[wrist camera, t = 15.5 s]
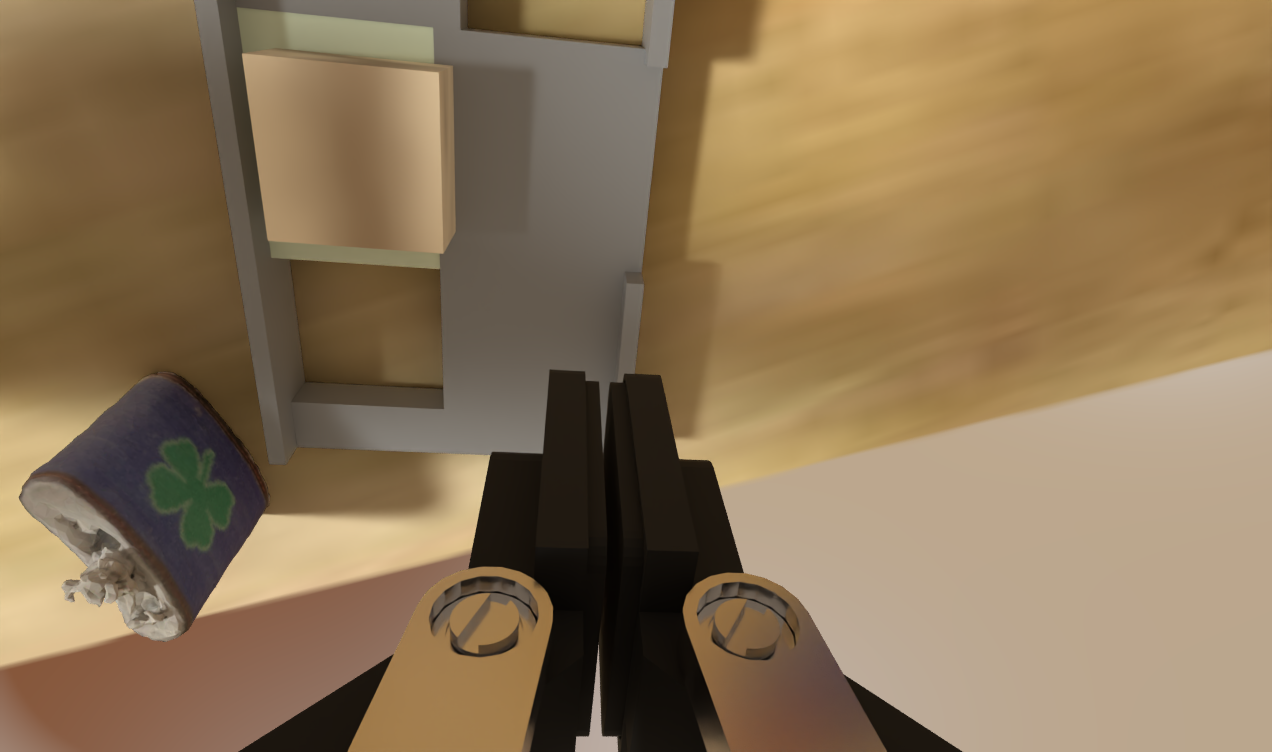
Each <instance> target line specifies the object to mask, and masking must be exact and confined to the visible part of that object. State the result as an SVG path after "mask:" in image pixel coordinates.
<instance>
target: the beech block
mask: <svg viewBox="0 0 1272 752" xmlns="http://www.w3.org/2000/svg"><path fill="white" fill-rule="evenodd" d="M242 59H243V66H244V73H245V80H246V88H247V95H248V102H249V109H250V117H251V124H252V131H253V138H254V145H255V153H256V160H257V167H258V174H259V181H260V189H261V196H262V203H263V210H264V218H265V225H266V232H267V239H268V241H277V242H290V243H304V244H318V245H331V246H345V247H359V248H372V249H386V250H399V251H413V252H427V253H440V254H443V253H444V252H445V250H446V248H447V246H448V245H449V243H450V241H451V239H452V237H453V236H454V234H455V232H456V217H455V157H454V97H453V66H451V65H441V64H431V63H421V62H411V61H401V60H391V59H380V58H370V57H360V56H350V55H340V54H330V53H320V52H310V51H300V50H289V49H279V48H273V49H267V50H260V51H254V52H247V53H242Z"/></svg>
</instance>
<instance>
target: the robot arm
mask: <svg viewBox="0 0 1272 752" xmlns="http://www.w3.org/2000/svg"><path fill="white" fill-rule="evenodd" d="M598 645H599V662H600V692H601V693H600V695H601V725H602V736H617V738H618V752H962V751H960V750H959V749H958V748H956V747H954V746H953V745H951V744H950V743H948V742H947V741H945V740H944V739H942V738H941V737H939V736H938V735H936V734H934V733H933V732H931V731H930V730H928V729H927V728H925V727H924V726H922V725H921V724H919V723H918V722H916V721H914V720H913V719H911V718H910V717H908V716H907V715H905V714H904V713H902V712H900V711H899V710H898V709H896V708H894V707H893V706H891V705H890V704H888V703H887V702H885V701H884V700H882V699H881V698H879V697H877V696H876V695H875V694H873V693H871V692H870V691H868V690H866V689H865V688H864V687H862V686H861V685H859V684H858V683H856V682H854V681H853V680H851V679H850V678H848V677H847V676H845V675H844V674H843V673H842V671H841V670H840V668H839V666H838V664H837V662H836V661H835V659H834V657H833V655H832V654H831V652H830V650H829V648H828V646H827V645H826V643H825V641H824V639H823V638H822V636H821V634H820V632H819V630H818V629H817V627H816V625H815V623H814V622H813V620H812V618H811V616H810V615H809V613H808V611H807V610H806V609H805V608H804V606H803V605H802V604H801V603H800V601H799V600H798V599H797V598H796V597H795V596H794V595H792V594H791V593H790V592H789V591H787V590H786V589H785V588H783V587H782V586H780V585H778V584H776V583H774V582H772V581H770V580H768V579H765V578H762V577H758V576H754V575H750V574H746V573H744V572H743V569H742V565H741V562H740V558H739V555H738V551H737V548H736V544H735V541H734V537H733V534H732V530H731V527H730V523H729V520H728V516H727V513H726V509H725V506H724V503H723V499H722V495H721V492H720V488H719V485H718V481H717V478H716V474H715V471H714V468H713V465H712V463H711V462H710V461H708V460H684V459H679V457H678V453H677V448H676V444H675V439H674V434H673V430H672V425H671V421H670V416H669V411H668V407H667V402H666V397H665V393H664V388H663V384H662V379H661V376H660V375H644V374H625V373H624V377H623V383H620V382H610V385H609V393H608V404H607V415H606V426H605V437H604V448H603V445H602V426H601V407H600V388H599V381H586V374H585V371H570V370H552V369H550V370H549V382H548V395H547V407H546V420H545V433H544V445H543V454H541V453H517V452H492V453H491V456H490V460H489V465H488V471H487V476H486V481H485V486H484V491H483V496H482V502H481V507H480V512H479V517H478V522H477V527H476V532H475V538H474V543H473V548H472V553H471V558H470V563H469V569H467V570H462V571H459V572H457V573H455V574H452V575H450V576H448V577H446V578H444V579H442V580H441V581H439V582H438V583H437V584H435V585H434V586H433V587H432V588H430V589H429V590H428V591H427V592H426V594H425V595H424V596H423V598H422V599H421V601H420V602H419V603H418V605H417V607H416V609H415V611H414V613H413V615H412V617H411V619H410V622H409V624H408V626H407V628H406V630H405V632H404V634H403V636H402V638H401V641H400V642H399V645H398V647H397V649H396V651H395V653H394V654H393V655H392V656H390V657H388V658H387V659H385V660H384V661H382V662H380V663H379V664H377V665H376V666H374V667H372V668H371V669H369V670H368V671H366V672H364V673H363V674H361V675H360V676H358V677H357V678H355V679H354V680H352V681H350V682H349V683H347V684H345V685H344V686H342V687H341V688H339V689H337V690H336V691H335V692H333V693H331V694H330V695H328V696H326V697H325V698H323V699H322V700H320V701H318V702H317V703H315V704H314V705H312V706H310V707H309V708H307V709H306V710H304V711H302V712H301V713H299V714H298V715H296V716H294V717H293V718H291V719H290V720H288V721H286V722H285V723H284V724H282V725H280V726H279V727H277V728H275V729H274V730H272V731H271V732H269V733H267V734H266V735H264V736H263V737H261V738H260V739H258V740H256V741H255V742H253V743H251V744H250V745H249V746H247V747H245V748H244V749H242V750H240V751H239V752H575V745H576V736H589V732H590V722H591V713H592V704H593V694H594V684H595V673H596V664H597V654H598Z"/></svg>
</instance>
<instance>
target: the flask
mask: <svg viewBox="0 0 1272 752" xmlns="http://www.w3.org/2000/svg"><path fill="white" fill-rule="evenodd" d="M156 374H158V375H154V374H150V375H148V376H145V377H144V378H142V379H141V380H139V381H138V383H137V384H136V385H134V386H133V387H132V388H131V389H130V390H129V391H128V392H127V393H126V394H125V395H124V396H123V397H122V398H121V399H120V400H119V401H118V402H117V403H116V404H114V405H113V406H112V407H110V408H109V409H107V410H106V411H105V412H104V413H103V414H102V415H101V416H100V417H99V418H98V419H97V420H96V421H95V422H94V423H93V424H92V425H91V426H90V427H89V428H88V429H87V430H85V431H84V432H83V433H82V434H80V435H79V436H77V437H76V438H75V439H74V440H73V441H72V442H71V443H70V444H69V445H67V446H66V447H65V448H64V449H63V450H62V451H60V452H59V453H58V454H57V455H56V456H55V457H53V458H52V459H51V460H50V461H49V462H48V463H46V464H44V465H42V466H41V467H39V468H38V469H37V470H35V471H34V472H33V473H31V475H30V477H29V479H28V480H27V481H26V482H25V484H24V485H23V486H22V492H21V494H20V496H19V500H20V501H21V503H22V505H23V506H24V508H25V509H26V510H27V511H28V512H29V513H30V514H31V516H32V517H34V518H35V519H36V520H38V521H39V522H41V523H42V524H43V525H44V526H45V527H46V528H47V529H48V530H49V531H50V532H51V533H53V534H54V535H56V536H57V537H59V538H60V540H61V541H62V542H63V543H64V544H65V545H66V546H67V547H69V549H70V550H71V551H72V552H74V553H75V554H76V555H77V556H78V557H79V558H80V559H81V560H82V562H83V563H84V564H85V565H86V566H87V567H88V568H87V569H86V570H85V571H84V572H83V573H82V574H81V575H80V579H81V580H66V581H65V582H64V583H63V585H62V589H63V590H64V592H65V600H67V601H70V602H75V600H74V596H73V594H74V593H75V592H81V593H82V594H83V595H84V597H85V598H86V600H87V602H88V603H90V604H96V605H98V606H99V607H100V606H101V605H102V602H103V599H104V598H105V599H104V603H113V602H114V601H116V603H117V605H118V608H119V611H120V612H122V615H123V618H124V622H125V623H126V625H127V627H128V628H129V629H133V630H134V632H136V633H138V634H139V635H141V636H144V637H148V638H150V639H152V640H157V641H163V642H166V641H169V640H172V639H174V638H177V637H179V636H180V635H182V634H183V633H185V632H186V631H187V630H188V629H189V628H190V626H191V625H192V623H193V621H194V620H195V618H196V616H197V615H198V613H199V611H200V610H201V608H202V607H203V605H204V603H205V602H206V600H207V599H208V597H209V595H210V594H211V592H212V591H213V589H214V588H215V587H216V585H217V584H218V582H219V580H220V579H221V577H222V575H223V573H224V572H225V570H226V569H227V567H228V565H229V564H230V562H231V561H232V559H233V558H234V557H235V555H236V554H237V553H238V551H239V550H240V548H241V547H242V546H243V544H244V542H245V541H246V539H247V538H248V537H249V535H250V534H251V532H252V530H253V529H254V527H255V525H256V524H257V522H258V520H259V518H260V517H261V515H262V514H263V513H264V511H265V509H266V508H267V507H268V506H269V502H270V495H269V493H268V488H267V485H266V483H265V482H264V479H263V478H262V476H261V474H260V471H259V468H258V466H257V465H255V464H254V461H253V457H251V455H250V453H249V451H248V450H246V448H245V447H244V446H243V443H242V442H241V441H240V440H239V439H237V438H236V436H235V435H233V432H231V429H230V427H229V426H228V425H227V424H226V423H225V422H224V420H223V419H222V418H221V417H220V416H219V414H218V412H216V411H215V410H214V409H213V407H212V406H211V404H209V403H208V401H207V400H205V399H204V398H203V395H201V393H200V392H199V391H198V390H197V388H194V387H193V386H192V385H190V384H189V383H188V382H186V381H185V380H184V379H182V377H181V376H180V377H179V376H177V375H176V374H175V373H169V372H158V373H156Z"/></svg>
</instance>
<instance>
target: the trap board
mask: <svg viewBox="0 0 1272 752" xmlns="http://www.w3.org/2000/svg"><path fill="white" fill-rule="evenodd" d="M194 4H195V10H196V16H197V22H198V28H199V35H200V41H201V47H202V53H203V59H204V65H205V72H206V78H207V84H208V90H209V96H210V102H211V109H212V115H213V121H214V127H215V133H216V139H217V146H218V152H219V158H220V164H221V170H222V176H223V183H224V189H225V195H226V201H227V207H228V214H229V220H230V226H231V232H232V238H233V244H234V251H235V257H236V263H237V269H238V275H239V281H240V288H241V294H242V300H243V306H244V312H245V318H246V325H247V331H248V337H249V343H250V349H251V355H252V362H253V368H254V374H255V380H256V386H257V393H258V399H259V405H260V411H261V417H262V423H263V430H264V436H265V442H266V448H267V454H268V460H269V464H276V465H286V464H287V463H288V461H289V459H290V458H291V456H292V455H293V453H294V451H295V450H296V448H297V447H306V448H330V449H354V450H378V451H403V452H427V453H451V454H475V455H491V453H492V452H517V453H541V454H543V445H544V433H545V420H546V407H547V395H548V382H549V370H550V369H552V370H570V371H585V374H586V381H599V388H600V407H601V426H602V445H603V448H604V437H605V426H606V415H607V404H608V393H609V385H610V382H620V383H623V377H624V373H625V374H635V366H636V357H637V348H638V339H639V329H640V320H641V311H642V301H643V292H644V281H643V276H642V264H643V255H644V245H645V236H646V226H647V217H648V207H649V198H650V188H651V179H652V169H653V160H654V150H655V141H656V131H657V121H658V112H659V102H660V93H661V83H662V74H663V68H668V60H669V51H670V41H671V32H672V23H673V14H674V4H675V0H646V4H645V15H644V26H643V37H642V46H635V45H625V44H616V43H606V42H596V41H587V40H577V39H567V38H557V37H548V36H538V35H528V34H519V33H509V32H499V31H489V30H480V29H470V28H468V0H194ZM273 48H279V49H289V50H300V51H310V52H320V53H330V54H340V55H350V56H360V57H370V58H380V59H391V60H401V61H411V62H421V63H431V64H441V65H451V66H453V97H454V157H455V217H456V232H455V234H454V236H453V237H452V239H451V241H450V243H449V245H448V246H447V248H446V250H445V252H444V253H443V254H440V253H427V252H413V251H399V250H386V249H372V248H359V247H345V246H331V245H318V244H304V243H290V242H277V241H268V239H267V232H266V225H265V218H264V210H263V203H262V196H261V189H260V181H259V174H258V167H257V160H256V153H255V145H254V138H253V131H252V124H251V117H250V109H249V102H248V95H247V88H246V80H245V73H244V66H243V59H242V53H247V52H254V51H260V50H267V49H273ZM290 259H295V260H310V261H325V262H340V263H354V264H369V265H384V266H399V267H413V268H428V269H440V285H441V320H442V356H443V389H433V388H413V387H393V386H374V385H354V384H334V383H314V382H305V376H304V368H303V360H302V352H301V344H300V336H299V328H298V321H297V313H296V305H295V297H294V289H293V281H292V273H291V265H290Z"/></svg>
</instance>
